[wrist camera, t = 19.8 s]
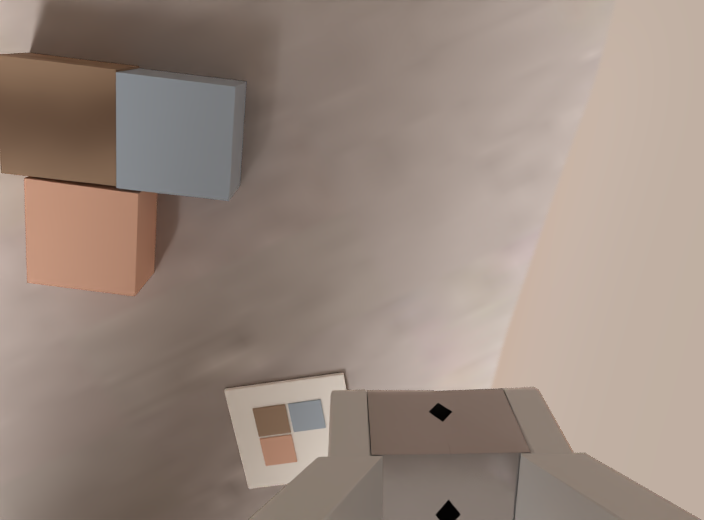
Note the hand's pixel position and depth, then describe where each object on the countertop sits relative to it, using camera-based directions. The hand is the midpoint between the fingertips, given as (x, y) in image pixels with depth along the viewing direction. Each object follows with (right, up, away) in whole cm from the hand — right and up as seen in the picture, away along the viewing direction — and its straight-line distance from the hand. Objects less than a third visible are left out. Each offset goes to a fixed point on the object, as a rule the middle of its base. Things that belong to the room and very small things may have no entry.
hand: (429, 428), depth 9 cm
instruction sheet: (-5, -9, +34) cm, 36 cm away
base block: (-16, +11, +27) cm, 33 cm away
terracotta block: (-16, +5, +29) cm, 34 cm away
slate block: (-10, +10, +27) cm, 31 cm away
